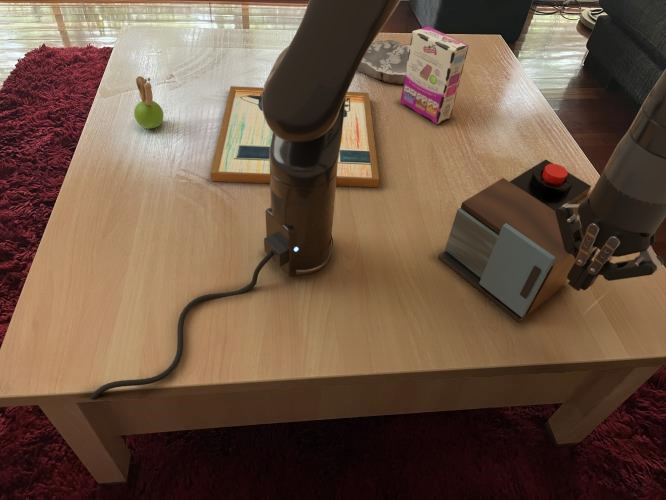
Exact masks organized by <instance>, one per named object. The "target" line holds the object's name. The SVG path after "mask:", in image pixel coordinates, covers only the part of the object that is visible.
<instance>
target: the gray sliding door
mask: <svg viewBox="0 0 666 500" xmlns="http://www.w3.org/2000/svg"><path fill="white" fill-rule="evenodd" d="M555 258H556V257H554V256H553V255H552V254H550V253H549V252H547V251H546V250H544V249H543V248H541V247H540V246H539V245H537V244H536V243H534V242H533V241H531V240H530V239H529V238H527V237H526V236H524V235H523V234H521V233H520V232H518V231H517V230H516V229H514V228H513V227H511V226H510V225H508V224H507V223H506V224H504V225H503V226H502V229H501V231H500V234H499V236H498V239H497V241H496V243H495V246H494V248H493V251H492V253H491V256H490V258H489V260H488V263H487V265H486V268H485V270H484V273H483V275H482V278H481V280H480V282H479V284H480V285H481V286H483V287H484V288H485V289H486V290H488V291H489V292H490V293H491V294H493V295H494V296H495V297H497V298H498V299H499V300H500V301H502V302H503V303H504V304H505V305H507V306H508V307H509V308H510V309H512V310H513V311H514V312H515V313H517V314H518V315H519V316H521V317H523V316H524V315H525V314H526V312H527V310H528V308H529V306H530V304H531V303H532V301H533V299H534V297H535V295H536V293H537V291H538V290H539V288H540V286H541V284H542V282H543V280H544V279H545V277H546V275H547V273H548V271H549V269H550V268H551V266H552V264H553V262H554V260H555Z"/></svg>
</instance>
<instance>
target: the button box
mask: <svg viewBox="0 0 666 500" xmlns="http://www.w3.org/2000/svg"><path fill="white" fill-rule="evenodd" d="M548 164H554V163H553V162H552V161H550V160H548V159H544V160H542V161H540V162H539V163H538V164H536V165H534V166H533V167H531V168H529V169H528V170H526V171H525V172H523V173H521V174H519V175H518V176H516V177H514V178H513V179H511V180H509V182H511V183H512V184H514V185H515V186H517V187H518V188H520V189H522V190H523V191H525V192H526V193H528V194H529V195H531V196H532V197H534V198H536V199H537V200H539V201H540V202H542V203H543V204H545V205H546V206H548V207H550V208H551V209H553V210H554V211H556V210H557V209H558V208H560V207H561V206H563V205H564V204H565V203H567V202H568V201H573V202H574V203H575V204H577V203H578V202H579V201H580V200H582V199H583V198H585V197H586V196H587V195H588V194H589V192H590V190H591V188H592V185H591V184H588V183H587V182H585V181H584V180H582V179H580V178H578V176H575V175H574V174H572V173H570V172H569V171H567V172H568V175H567V177H566V179H565V181H564V183H562V184H559V185H555V184H552V183H549V182H547V181H546V180H544V179H543V178H542V173H543V171H544V169H545V167H546V166H547V165H548Z"/></svg>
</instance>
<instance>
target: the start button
mask: <svg viewBox="0 0 666 500" xmlns="http://www.w3.org/2000/svg"><path fill="white" fill-rule="evenodd" d="M568 172H569V171H568V170H567V169H566V168H565V167H564V166H563V165H560V164H557V163H553V164H548V165H547V166H546V167H545V169H544V171H543V173H542V178H543V179H544V180H546V181H547V182H549V183H552V184H555V185H559V184H562V183H564V181H565V179H566V177H567V175H568Z"/></svg>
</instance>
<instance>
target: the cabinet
mask: <svg viewBox="0 0 666 500" xmlns="http://www.w3.org/2000/svg"><path fill="white" fill-rule="evenodd" d="M506 223H507V224H508V225H510V226H511V227H513V228H514V229H516V230H517V231H518V232H520V233H521V234H523V235H524V236H526V237H527V238H529V239H530V240H531V241H533V242H534V243H536V244H537V245H539V246H540V247H541V248H543V249H544V250H546V251H547V252H549V253H550V254H552V255H553V256H554V257H556V258H555V260H554V262H553V264H552V266H551V268H550V269H549V271H548V273H547V275H546V277H545V279H544V280H543V282H542V284H541V286H540V288H539V290H538V291H537V293H536V295H535V297H534V299H533V301H532V303H531V304H530V306H529V308H528V310H527V312H526V314H525V315H524V316H523V317H521V316H519V315H518V314H517V313H515V312H514V311H513V310H512V309H510V308H509V307H508V306H507V305H505V304H504V303H503V302H502V301H500V300H499V299H498V298H497V297H495V296H494V295H493V294H491V293H490V292H489V291H488V290H486V289H485V288H484V287H483V286H481V285H480V284H479V282H480V280H481V278H482V275H483V273H484V270H485V268H486V265H487V263H488V260H489V258H490V256H491V253H492V251H493V248H494V246H495V243H496V241H497V239H498V236H499V234H500V231H501V229H502V226H503V225H504V224H506ZM581 229H582V228H581ZM583 237H584V236H583ZM437 259H438V260H439V261H441V263H443V264H445V265H446V266H447V267H448V268H450V270H452V271H453V272H455V273H456V274H457V275H458V276H460V277H461V278H462V279H463V280H465V281H466V282H467V283H468V284H469V285H470V286H471V287H473V288H475V290H477V291H478V292H480V293H481V294H482V295H483V296H485V297H486V298H487V299H488V300H489V301H491V302H492V303H493V304H495V306H497V307H498V308H499V309H501V310H502V311H503V312H504V313H506V314H507V315H508V316H509V317H510V318H512V319H513V320H514V321H516V322H517V323H520V322H521V321H522V320H524V319H525V318H526V317H527V316H528V315H530V314H531V313H532V312H533V311H534V310H535V309H537V308H538V307H539V306H540V305H542V304H543V303H544V302H545V301H547V300H548V299H549V298H550V297H551V296H553V295H554V294H555V293H556V292H557V291H558V290H560V289H561V288H562V287H564V286H565V284H566V282H567V281H568V279H567V275H568V273H569V271H570V270H571V268H572V266H573V265H574V263H575V258H574V256H573V255H572V254H568V253H567V252H566V251H565V249H564V245H563V241H562V237H561V233H560V229H559V225H558V221H557V217H556V213H555V211H554V210H553V209H551V208H550V207H548V206H546V205H545V204H543V203H542V202H540V201H539V200H537V199H536V198H534V197H532V196H531V195H529V194H528V193H526V192H525V191H523V190H522V189H520V188H518V187H517V186H515V185H514V184H512V183H511V182H510V180H508V179H506V178H505V177H501V178H500V179H499V180H496V181H495V182H493V183H492V184H490V185H489V186H487V187H485V188H483V189H482V190H481V191H479V192H477V193H475V194H474V195H472V196H470V197H468V198H467V199H465V200H463V201H462V202H461V205H460V207H458V208H457V209H456V212H455V216H454V219H453V221H452V226H451V229H450V231H449V235H448V239H447V242H446V245H445V248H444V251H442V252H440V253H439V254H438V256H437Z"/></svg>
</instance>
